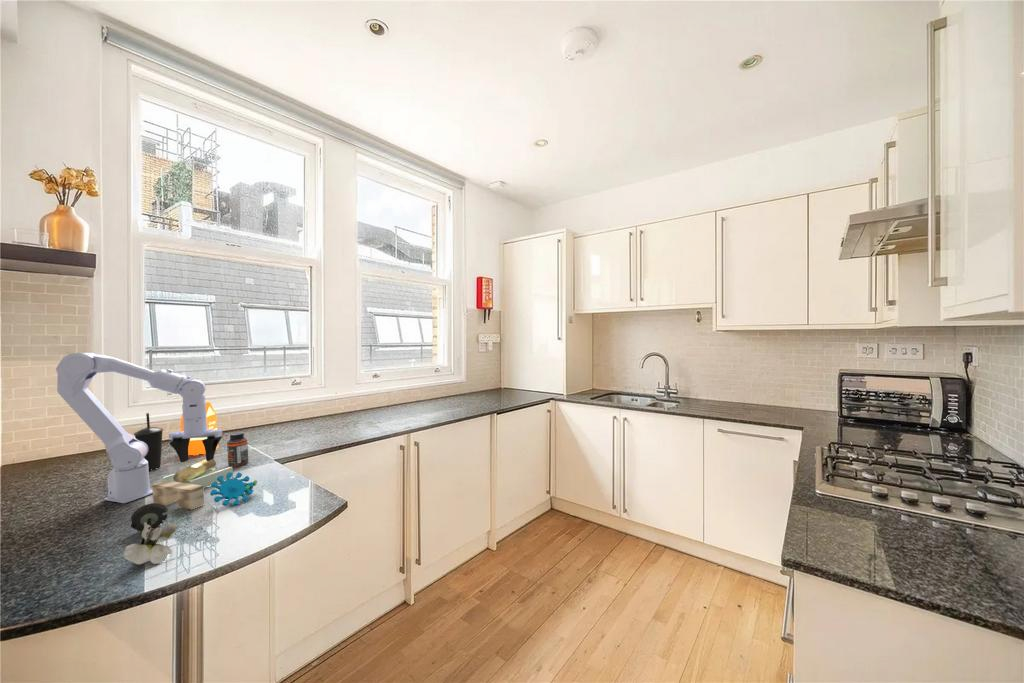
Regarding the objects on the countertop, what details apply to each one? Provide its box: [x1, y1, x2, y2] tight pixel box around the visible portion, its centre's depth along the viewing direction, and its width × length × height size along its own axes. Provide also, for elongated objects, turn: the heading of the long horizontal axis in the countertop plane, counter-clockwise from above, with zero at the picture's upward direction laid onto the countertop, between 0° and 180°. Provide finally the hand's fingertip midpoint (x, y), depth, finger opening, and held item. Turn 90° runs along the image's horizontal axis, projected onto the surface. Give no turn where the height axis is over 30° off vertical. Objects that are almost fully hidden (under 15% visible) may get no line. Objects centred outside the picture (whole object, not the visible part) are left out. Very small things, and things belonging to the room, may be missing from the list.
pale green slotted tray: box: [162, 466, 234, 489], centre depth 119 cm, size 13×12×4 cm
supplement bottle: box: [226, 431, 249, 468], centre depth 136 cm, size 6×6×11 cm
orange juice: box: [180, 401, 219, 456], centre depth 153 cm, size 8×9×20 cm
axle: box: [173, 458, 217, 483], centre depth 119 cm, size 12×4×4 cm, turn 5°
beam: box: [151, 480, 205, 511], centre depth 105 cm, size 16×3×5 cm, turn 71°
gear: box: [209, 472, 258, 507], centre depth 106 cm, size 11×6×10 cm
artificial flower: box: [123, 503, 181, 565], centre depth 84 cm, size 9×22×10 cm, turn 39°
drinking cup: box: [133, 412, 164, 470], centre depth 134 cm, size 8×8×20 cm
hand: (197, 460), depth 119 cm, fingers open, 7 cm apart
